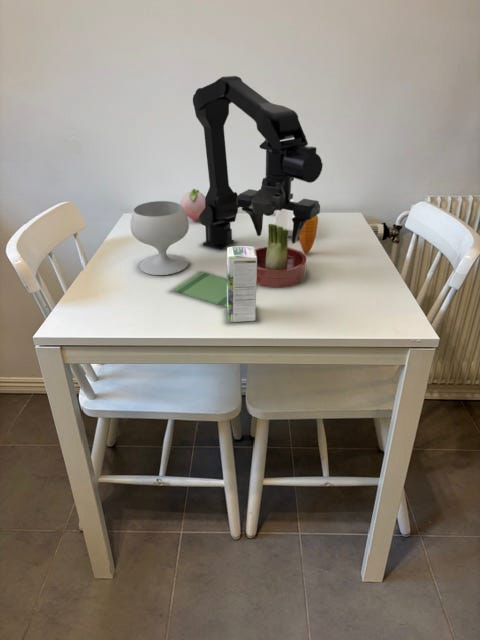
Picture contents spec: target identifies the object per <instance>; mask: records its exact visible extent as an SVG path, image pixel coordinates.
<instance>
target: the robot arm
mask: <svg viewBox="0 0 480 640" xmlns="http://www.w3.org/2000/svg"><path fill="white" fill-rule="evenodd" d="M192 104H193V109H194V114H195V117H196V119H197V120H198V121H199V124H200V125H201V126H202V128H203V133H204V143H205V144H204V145H205V153H206V163H207V172H208V181H209V187H208V191H207V193H206V195H205V209H204V210H203V211H202V213H201V214H200V215H199V219H198V220H199V224H201V225H202V226H204V227H205V241H204V242H202V246H205V247H209V248H212V249H213V248H214V249H217V250H224V249H225V248H227V247H230V245H232V244H233V243H235V240H234V239H233V231H232V230H233V229H232V228H231V223H234V222H236V219H237V215H238V213H239V208H241V210H242V212H246V214H247V215H249V217H250V219H251V222H252V224H253V228H254V230H255V232H256V235H257V237H260V236H261V235H262V232H263V225H264V224H263V223H264V222H263V221H264V216H265V217H270V216H273V215H274V211H275V210H280V211H281V210H282V209H286V210H291V211H293V214H294V216H295V217H294V218H292V221H293V233H292V237H291V243H292V244H293V245H294V244H296V242H297V240H298V238H299V237H298V236H299V234H300V232H301V230H302V228H303V226H304V224H305V223H306V221H307V220H310V219H312V218H313V217H315V216H316V215H317V216H318V215H319V214H320V213H321V204H320V203H319V202H320V201H319V200H317V201H316V200H315V199H308V198H302V199H301V200H299V201H298V202H297V201H295V202H291V201H290V200H291V199H293V198H294V193H292V192H291V191H292V182H293V181H294V180H295V179H296V180H299V181H302V182H305V183H309V184H312V183H314V182H316V181H317V180H318V178H319V177H320V176H321V173H322V171H323V165H324V164H323V161H322V158H321V156H320V155H319V154H317V147H316V146H308V145H309V143H308V140H307V136H306V134H305V132H304V130H303V127H302V125H301V122H300V120H299V115H298V113H297V112H296V111H295V110H293V109H291V108H289V107H287V106H284V105H279V104H275V103H273V102H271V101H269V100H268V99H266V98H265V97H263V96H262V95H261V94H259V92H257V91H256V90H254V89H253V88H252V87H250V86H249V85H248V84H247V83H245V82H244V81H243V80H242V78H241V77H239V76H238V75H229V76H227V75H226V76H221V77H220V78H218V79H217V80H215V81H213V82H212V83H209V84H207V85H205V86H203V87H199V88H197V89H196V90H195V93H194V94H193V97H192ZM231 104H233V105H235V106H236V107H237V108H238V109H240V110H241V111H242V112H243V113H244V114H246V115H247V116H248V117H249V118H250V119H252V120H253V121H254V122H255V124H256V130H257V131H258V132H259V134H260V135H261V136H262V137H263V138H264V139H265V140H264V141H263V142H261V143H260V144H259V149H261V150H265V177H263V178H262V181H261V187H260V189H258V190H257V189H250V188H248V189H246V190H245V191H243V192H241V193H239V194H238V193H237V192H236V191H235V192H234V191H233V189H232V188H231V186H230V181H229V171H228V159H227V150H226V149H227V148H226V136H225V124H226V121H227V119H228V118H229V115H230V105H231ZM318 201H319V202H318Z"/></svg>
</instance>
